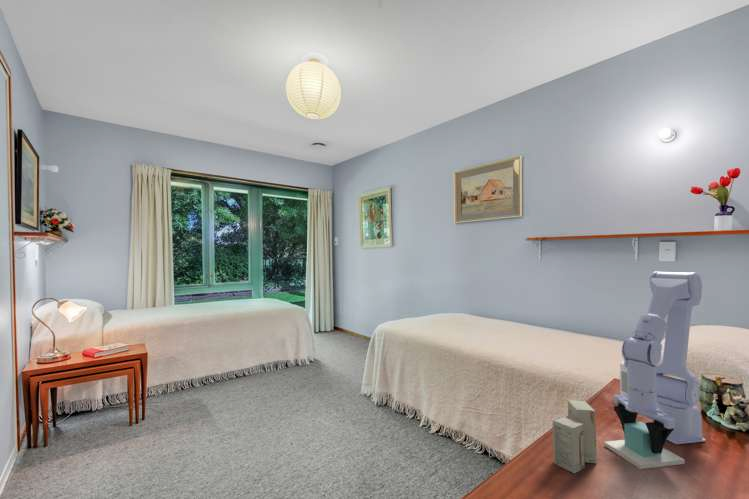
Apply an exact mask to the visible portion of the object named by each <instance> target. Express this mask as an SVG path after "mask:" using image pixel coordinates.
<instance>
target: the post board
mask: <svg viewBox="0 0 749 499" xmlns="http://www.w3.org/2000/svg"><path fill="white" fill-rule="evenodd" d="M604 447H606V448H607V449H609V450H611V451H612V452H613V453H615V454H617V455H618V456H620V457H621V458H623V459H624V460H626V461H627V462H629V463H630V464H632V465H634V467H636V468H638V469H640V470H644V469H651V468H653V469H654V468H662V467H670V466H677V465H686V464H685V463H686V462H685V458H682V457H681V456H679V455H677V454H675V453H674V452H672V451H670V450H668V449H666V448H665V447H663V450H662V453H661V455H656V456H648V457H642V456H641V455H639V454H637V453H636V452H634V451H632V450H631V449H629V448H627V447H626V446H625V439H619V440H608V441H604Z"/></svg>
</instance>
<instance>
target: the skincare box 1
mask: <svg viewBox="0 0 749 499" xmlns="http://www.w3.org/2000/svg"><path fill="white" fill-rule="evenodd" d="M552 441H553V442H552V443H553V444H552V445H553V464H554V465H556V466H559V467H561V468H562V469H565V470H566V471H569V472H570V473H573V474H576V473H578V472H581V471H583V470H584V469H585V468H586V464H585V463H586V462H585V461H584V434H583V424H582V423H579V422H577V421H574V420H572V419H569V418H568V417H566V416H561V417H557V418H554V419H552Z"/></svg>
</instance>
